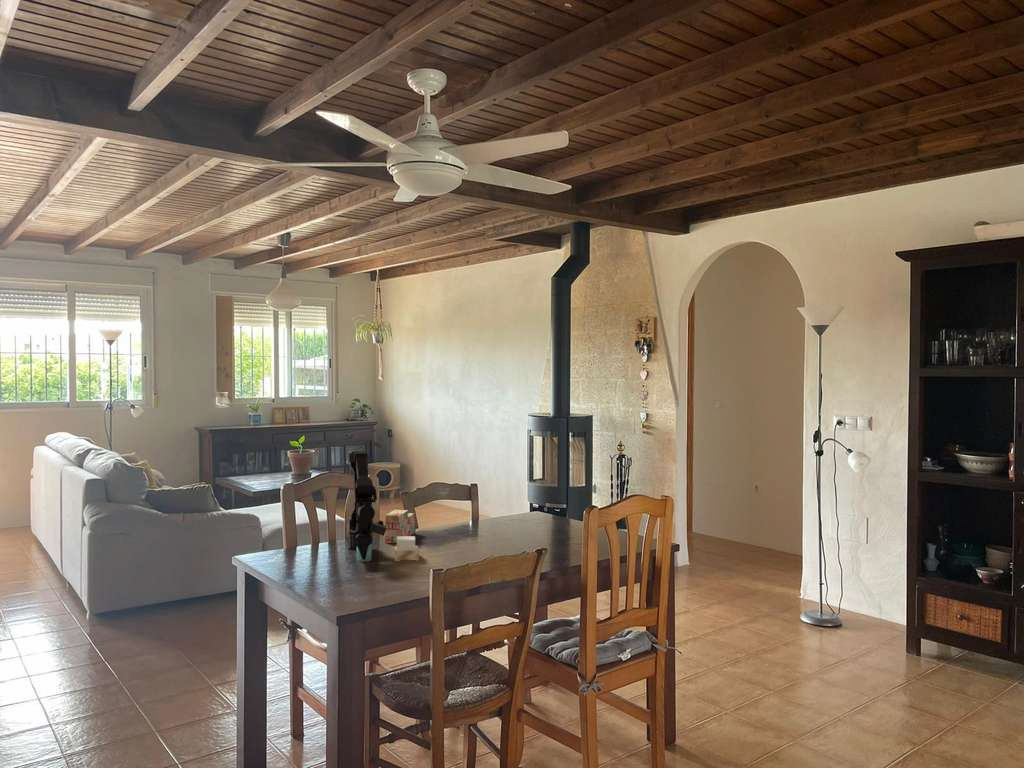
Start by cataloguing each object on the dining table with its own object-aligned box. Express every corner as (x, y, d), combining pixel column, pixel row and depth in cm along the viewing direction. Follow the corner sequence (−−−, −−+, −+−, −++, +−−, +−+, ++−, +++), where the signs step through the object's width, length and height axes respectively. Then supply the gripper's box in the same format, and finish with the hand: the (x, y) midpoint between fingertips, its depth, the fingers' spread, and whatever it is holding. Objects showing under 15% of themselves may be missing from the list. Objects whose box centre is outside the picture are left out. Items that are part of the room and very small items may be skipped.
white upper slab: (396, 550, 298) (396, 540, 298) (396, 546, 305) (396, 536, 305) (415, 550, 299) (415, 540, 299) (414, 546, 306) (414, 536, 306)
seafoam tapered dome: (354, 561, 297) (354, 548, 297) (360, 557, 302) (360, 544, 302) (367, 562, 295) (367, 549, 295) (373, 558, 301) (373, 545, 301)
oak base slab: (395, 562, 297) (395, 551, 297) (394, 556, 306) (394, 546, 306) (419, 561, 299) (419, 550, 299) (417, 555, 308) (417, 545, 308)
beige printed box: (401, 533, 349) (401, 505, 348) (414, 534, 348) (414, 506, 347) (385, 543, 328) (385, 514, 327) (399, 544, 326) (399, 515, 326)
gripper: (386, 520, 291) (386, 562, 291) (384, 511, 309) (384, 550, 309) (355, 521, 289) (355, 563, 289) (356, 512, 307) (356, 551, 307)
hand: (364, 557), depth 299 cm, fingers open, 8 cm apart
